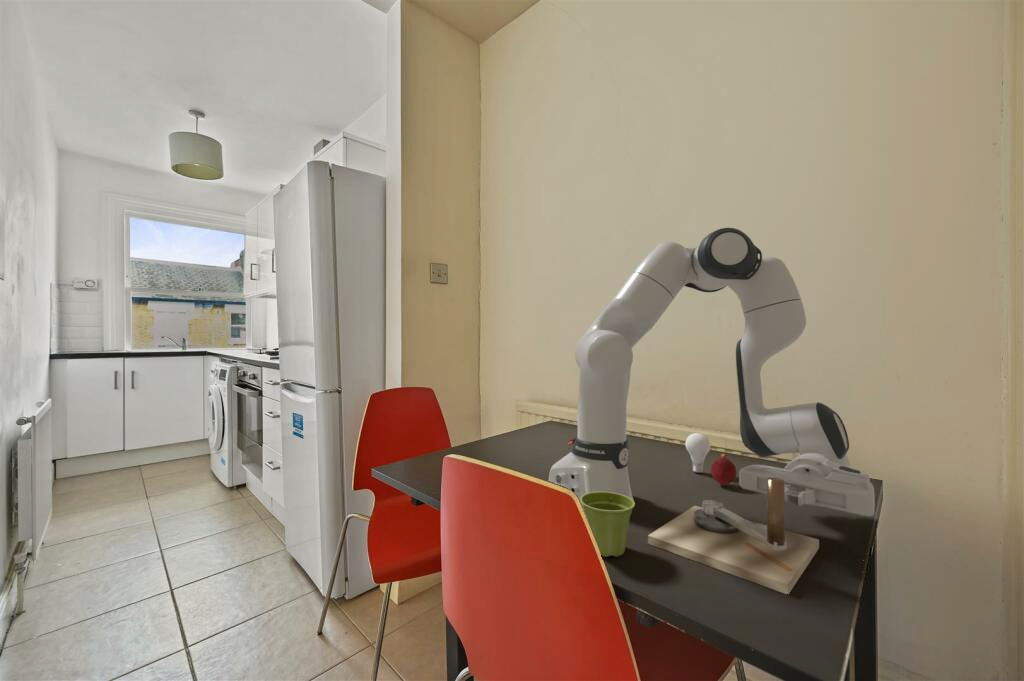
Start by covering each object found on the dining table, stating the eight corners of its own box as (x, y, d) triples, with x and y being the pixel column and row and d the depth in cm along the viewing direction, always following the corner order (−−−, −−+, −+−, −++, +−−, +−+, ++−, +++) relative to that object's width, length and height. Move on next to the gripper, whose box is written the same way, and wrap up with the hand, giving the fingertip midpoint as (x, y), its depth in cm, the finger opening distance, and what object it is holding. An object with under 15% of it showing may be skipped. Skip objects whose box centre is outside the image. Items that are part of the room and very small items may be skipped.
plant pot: (596, 532, 83) (595, 487, 83) (643, 547, 77) (643, 498, 77) (570, 551, 76) (570, 501, 76) (620, 569, 70) (620, 515, 70)
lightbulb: (681, 469, 122) (681, 431, 122) (702, 469, 123) (702, 430, 123) (692, 477, 116) (692, 436, 116) (715, 476, 117) (715, 435, 117)
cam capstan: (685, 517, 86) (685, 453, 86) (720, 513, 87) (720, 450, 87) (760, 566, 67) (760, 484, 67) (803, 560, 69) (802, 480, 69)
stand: (647, 543, 78) (647, 534, 78) (694, 512, 92) (694, 504, 92) (788, 594, 63) (788, 583, 63) (819, 548, 76) (819, 538, 76)
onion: (739, 490, 106) (739, 458, 106) (714, 489, 107) (714, 456, 107) (732, 482, 111) (732, 451, 111) (708, 481, 112) (708, 450, 112)
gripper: (751, 453, 90) (726, 467, 80) (880, 475, 75) (868, 495, 65) (751, 483, 90) (726, 501, 80) (880, 511, 75) (868, 536, 65)
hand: (791, 498), depth 73 cm, fingers closed
